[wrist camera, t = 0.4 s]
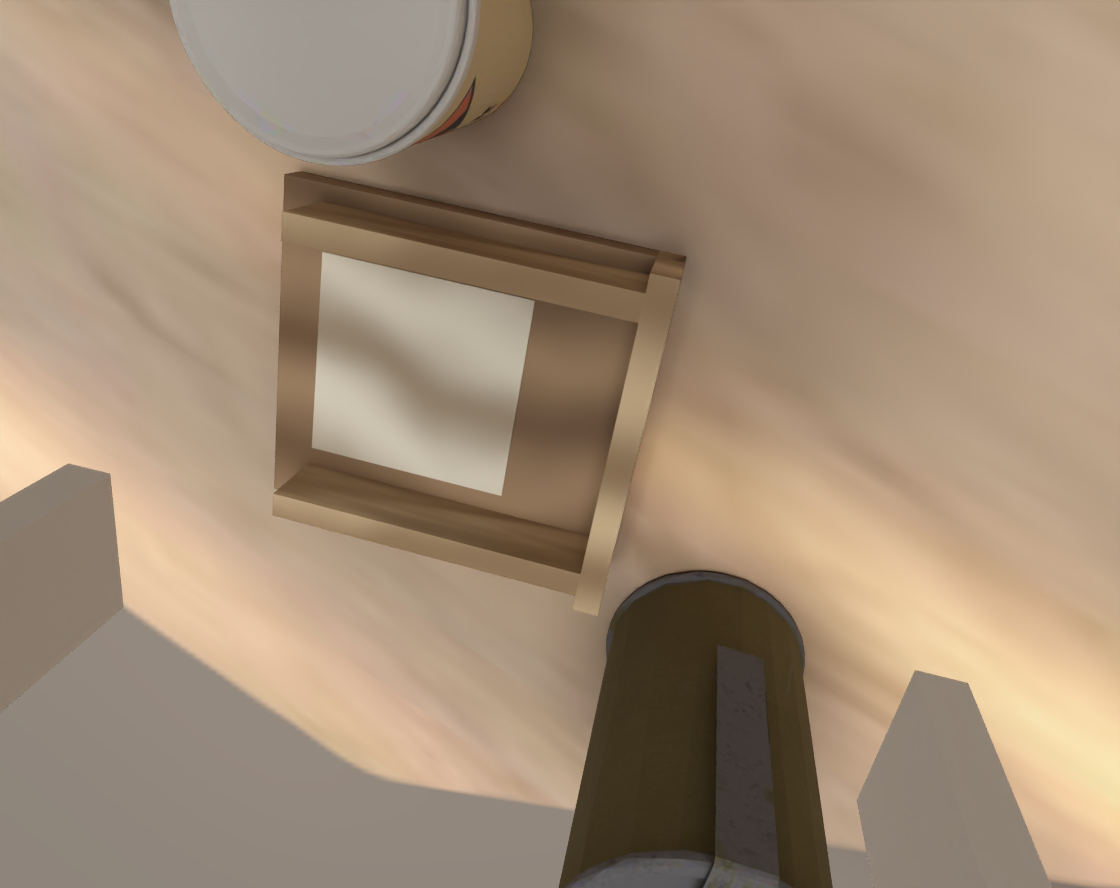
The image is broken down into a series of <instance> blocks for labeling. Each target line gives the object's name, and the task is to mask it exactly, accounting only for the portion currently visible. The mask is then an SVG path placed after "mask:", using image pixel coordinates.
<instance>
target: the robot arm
mask: <svg viewBox="0 0 1120 888" xmlns="http://www.w3.org/2000/svg"><path fill="white" fill-rule="evenodd" d="M122 608H123V598H122V588H121V578H120V567H119V557H118V547H117V537H116V527H115V517H114V507H113V497H112V487H111V477H110V474H109V473H105V472H101V471H97V470H93V469H88V468H84V467H80V466H76V465H72V464H67V465H65V466H63V467H61V468H60V469H58V470H56V471H54V472H53V473H51V474H49V475H47V476H46V477H44V478H42V479H40V480H39V481H37V482H35V483H33V484H32V485H30V486H28V487H26V488H24V489H23V490H21V491H19V492H17V493H16V494H14V495H12V496H10V497H9V498H7V499H5V500H3V501H2V502H0V713H1V712H2V711H3V710H4V709H6V707H8V706H9V705H10V704H11V703H12V702H14V701H15V700H16V699H17V698H18V697H20V696H21V695H22V694H23V693H24V692H25V691H27V690H28V689H29V688H30V687H31V686H32V685H33V684H35V683H36V682H37V681H38V680H39V679H40V678H42V677H43V676H44V675H45V674H46V673H47V672H48V671H50V670H51V669H52V668H53V667H54V666H56V665H57V664H58V663H59V662H60V661H61V660H63V659H64V658H65V657H66V656H67V655H69V654H70V653H71V652H72V651H73V650H74V649H76V648H77V647H78V646H79V645H80V644H81V643H82V642H84V641H85V640H86V639H87V638H88V637H89V636H91V635H92V634H93V633H94V632H95V631H96V630H97V629H99V628H100V627H101V626H102V625H103V624H105V623H106V622H107V621H108V620H109V619H110V618H112V617H113V616H114V615H115V614H116V613H117V612H119V611H120V610H121V609H122ZM857 803H858V808H859V814H860V819H861V825H862V830H863V835H864V841H865V846H866V852H867V857H868V862H869V867H870V873H871V879H872V884H873V888H1052V887H1051V885H1050V882H1049V880H1048V877H1047V875H1046V872H1045V870H1044V868H1043V865H1042V863H1041V860H1040V858H1039V855H1038V853H1037V850H1036V848H1035V846H1034V843H1033V841H1032V838H1031V836H1030V833H1029V831H1028V828H1027V826H1026V824H1025V821H1024V819H1023V816H1022V814H1021V811H1020V809H1019V806H1018V804H1017V802H1016V799H1015V797H1014V794H1013V792H1012V789H1011V787H1010V784H1009V782H1008V780H1007V777H1006V775H1005V772H1004V770H1003V767H1002V765H1001V763H1000V760H999V758H998V755H997V753H996V750H995V748H994V745H993V743H992V741H991V738H990V736H989V733H988V731H987V728H986V726H985V723H984V721H983V719H982V716H981V714H980V711H979V709H978V706H977V704H976V701H975V699H974V697H973V694H972V692H971V689H970V687H969V684H968V683H965V682H961V681H957V680H953V679H949V678H945V677H941V676H937V675H933V674H929V673H925V672H920V671H916V670H915V672H914V674H913V676H912V678H911V681H910V683H909V685H908V687H907V690H906V692H905V694H904V696H903V699H902V701H901V703H900V705H899V707H898V710H897V712H896V714H895V716H894V719H893V721H892V723H891V725H890V728H889V730H888V732H887V734H886V736H885V739H884V741H883V743H882V745H881V748H880V750H879V752H878V754H877V757H876V759H875V761H874V763H873V765H872V768H871V770H870V772H869V774H868V777H867V779H866V781H865V783H864V786H863V788H862V790H861V792H860V794H859V797H858V799H857Z"/></svg>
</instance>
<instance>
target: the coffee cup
mask: <svg viewBox="0 0 1120 888" xmlns="http://www.w3.org/2000/svg"><path fill="white" fill-rule="evenodd" d="M169 2H170V6H171V10H172V14H173V18H174V22H175V25H176V28H177V31H178V33H179V36H180V39H181V42H182V44H183V46H184V49H185V51H186V53H187V55H188V58H189V59H190V61H191V63H192V65H193V67H194V68H195V70H196V72H197V74H198V75H199V77H200V78H201V80H202V81H203V83H204V85H205V86H206V88H207V89H208V90H209V91H210V93H211V94H212V95H213V96H214V97H215V99H216V100H217V101H218V102H219V103H220V104H221V105H222V107H223V108H224V109H225V110H226V111H227V112H228V113H229V114H230V115H231V116H232V117H233V118H234V119H235V120H236V121H237V122H238V123H239V124H240V125H241V126H242V127H244V128H245V129H246V130H247V131H248V132H249V133H251V134H252V135H254V136H255V137H256V138H258V139H259V140H260V141H262V142H264V143H265V144H267V145H269V146H270V147H272V148H274V149H275V150H278V151H280V152H282V153H284V154H286V155H289V156H291V157H294V158H297V159H300V160H303V161H306V162H311V163H316V164H322V165H332V166H354V165H360V164H366V163H371V162H375V161H378V160H381V159H385V158H387V157H389V156H391V155H394V154H396V153H398V152H400V151H402V150H404V149H405V148H407V147H409V146H411V145H414V144H417V143H420V142H423V141H426V140H428V139H431V138H434V137H437V136H440V135H442V134H445V133H448V132H450V131H453V130H456V129H458V128H461V127H464V126H467V125H469V124H471V123H473V122H476V121H478V120H480V119H482V118H484V117H485V116H487V115H489V114H490V113H492V112H493V111H495V110H496V109H497V108H498V107H499V106H500V105H501V104H502V103H503V102H504V101H505V100H506V99H507V98H508V97H509V96H510V95H511V93H512V92H513V91H514V89H515V88H516V86H517V84H518V83H519V81H520V79H521V77H522V75H523V73H524V71H525V68H526V65H527V62H528V59H529V55H530V51H531V45H532V37H533V19H532V8H531V2H530V0H169Z"/></svg>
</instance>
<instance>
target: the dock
mask: <svg viewBox="0 0 1120 888" xmlns="http://www.w3.org/2000/svg"><path fill="white" fill-rule="evenodd" d="M281 241H282V266H281V297H280V327H279V358H278V389H277V419H276V450H275V481H274V488H275V489H278V490H277V491H276V492H275V493H274V494H273V515H274V516H277V517H281V518H285V519H289V520H292V521H296V522H300V523H304V524H308V525H311V526H315V527H319V528H323V529H326V530H330V531H334V532H338V533H341V534H345V535H349V536H353V537H356V538H360V539H364V540H368V541H372V542H375V543H379V544H383V545H387V546H390V547H394V548H398V549H402V550H405V551H409V552H413V553H417V554H420V555H424V556H428V557H432V558H436V559H439V560H443V561H447V562H451V563H454V564H458V565H462V566H466V567H469V568H473V569H477V570H481V571H484V572H488V573H492V574H496V575H500V576H503V577H507V578H511V579H515V580H518V581H522V582H526V583H530V584H533V585H537V586H541V587H545V588H549V589H552V590H556V591H560V592H564V593H567V594H571V595H575V600H574V604H573V609H572V610H576V611H580V612H583V613H587V614H591V615H594V616H597V615H598V611H599V607H600V603H601V599H602V595H603V591H604V587H605V583H606V579H607V575H608V571H609V567H610V563H611V559H612V555H613V551H614V547H615V543H616V539H617V535H618V531H619V527H620V523H621V519H622V515H623V511H624V507H625V503H626V499H627V495H628V491H629V487H630V483H631V479H632V475H633V471H634V467H635V463H636V459H637V455H638V451H639V447H640V443H641V439H642V435H643V431H644V427H645V423H646V419H647V415H648V411H649V407H650V403H651V399H652V395H653V391H654V387H655V383H656V379H657V375H658V371H659V367H660V363H661V359H662V355H663V351H664V347H665V343H666V339H667V335H668V331H669V327H670V323H671V319H672V315H673V311H674V307H675V303H676V299H677V295H678V290H679V286H680V282H681V278H682V274H683V270H684V265H685V261H686V257H685V256H680V255H676V254H671V253H667V252H662V251H658V250H653V249H649V248H644V247H640V246H635V245H631V244H626V243H622V242H617V241H613V240H608V239H604V238H599V237H595V236H590V235H586V234H581V233H576V232H572V231H567V230H563V229H558V228H554V227H549V226H545V225H540V224H536V223H531V222H527V221H522V220H518V219H513V218H509V217H504V216H500V215H495V214H491V213H486V212H482V211H477V210H473V209H468V208H464V207H459V206H454V205H450V204H445V203H441V202H436V201H432V200H427V199H423V198H418V197H414V196H409V195H405V194H400V193H396V192H391V191H387V190H382V189H378V188H373V187H369V186H364V185H360V184H355V183H351V182H346V181H341V180H337V179H332V178H328V177H323V176H319V175H314V174H310V173H305V172H295V173H289V174H284V205H283V211H282V240H281Z"/></svg>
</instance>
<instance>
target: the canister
mask: <svg viewBox="0 0 1120 888" xmlns="http://www.w3.org/2000/svg"><path fill="white" fill-rule="evenodd" d="M606 651H607V662H606V667H605V672H604V677H603V681H602V686H601V691H600V695H599V700H598V705H597V710H596V714H595V719H594V724H593V728H592V733H591V738H590V743H589V747H588V752H587V757H586V761H585V766H584V771H583V776H582V780H581V785H580V790H579V794H578V799H577V804H576V809H575V813H574V818H573V823H572V827H571V832H570V837H569V842H568V847H567V851H566V856H565V861H564V865H563V870H562V875H561V879H560V884H559V888H832V880H831V874H830V866H829V859H828V852H827V844H826V837H825V830H824V823H823V816H822V809H821V802H820V795H819V788H818V780H817V773H816V766H815V759H814V752H813V745H812V738H811V731H810V724H809V717H808V709H807V702H806V695H805V688H804V681H803V672H804V664H805V652H804V645H803V641H802V637H801V635H800V633H799V631H798V628H797V626H796V624H795V622H794V620H793V618H792V617H791V616H790V614H789V613H788V612H787V611H786V609H785V608H784V607H783V605H782V604H780V603H779V602H778V601H777V600H776V599H775V598H773V597H772V596H771V595H770V594H769V593H767V592H766V591H764V590H762V589H760V588H758V587H757V586H755V585H753V584H751V583H749V582H747V581H746V580H742V579H739V578H736V577H732V576H729V575H724V574H718V573H711V572H688V573H681V574H674V575H667V576H664V577H662V578H659V579H657V580H655V581H652V582H650V583H647V584H646V585H644V586H643V587H641V588H639V589H638V590H636V591H635V592H634V593H633V594H632V595H631V596H630V597H629V598H628V599H627V600H626V601H625V602H624V603H623V604H622V605H621V606H620V608H619V609H618V610H617V611H616V613H615V615H614V617H613V619H612V621H611V624H610V627H609V631H608V634H607V641H606Z"/></svg>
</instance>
